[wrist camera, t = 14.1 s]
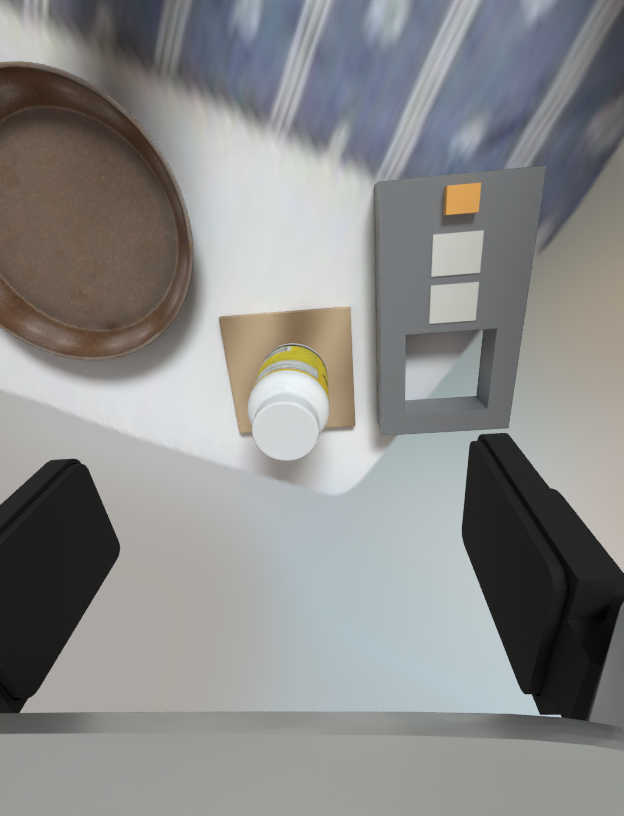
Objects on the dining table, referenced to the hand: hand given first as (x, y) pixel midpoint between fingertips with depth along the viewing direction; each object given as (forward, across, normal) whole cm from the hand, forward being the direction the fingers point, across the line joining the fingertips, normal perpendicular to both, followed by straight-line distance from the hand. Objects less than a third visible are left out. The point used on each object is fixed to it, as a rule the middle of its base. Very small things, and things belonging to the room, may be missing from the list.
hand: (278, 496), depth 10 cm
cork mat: (+23, +2, +6) cm, 24 cm away
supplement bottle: (+22, +2, +6) cm, 23 cm away
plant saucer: (+23, +16, -6) cm, 29 cm away
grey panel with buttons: (+23, -10, +2) cm, 25 cm away
